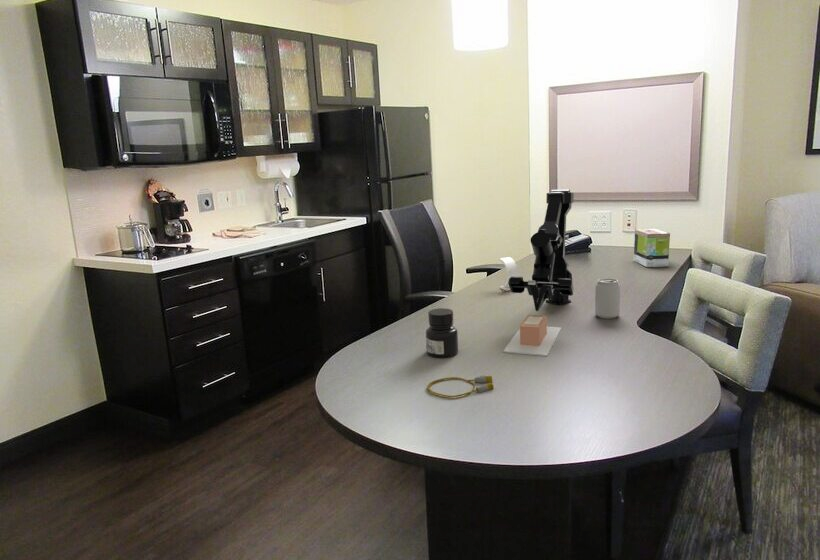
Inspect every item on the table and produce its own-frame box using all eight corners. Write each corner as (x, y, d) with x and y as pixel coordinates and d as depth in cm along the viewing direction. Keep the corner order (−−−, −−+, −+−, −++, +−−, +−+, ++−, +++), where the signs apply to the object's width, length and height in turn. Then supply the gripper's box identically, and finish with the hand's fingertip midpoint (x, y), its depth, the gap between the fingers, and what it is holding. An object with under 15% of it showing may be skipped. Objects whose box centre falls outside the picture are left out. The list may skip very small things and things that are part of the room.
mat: (522, 325, 180) (522, 324, 180) (561, 328, 175) (561, 327, 175) (503, 352, 159) (503, 350, 159) (547, 356, 154) (547, 354, 154)
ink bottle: (421, 350, 164) (418, 310, 161) (448, 344, 167) (446, 305, 164) (435, 361, 155) (433, 318, 152) (464, 355, 158) (463, 313, 156)
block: (528, 314, 171) (519, 325, 162) (546, 315, 169) (539, 326, 159) (528, 332, 173) (520, 344, 163) (546, 333, 170) (539, 346, 161)
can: (621, 319, 181) (622, 282, 178) (596, 319, 182) (597, 282, 180) (617, 312, 188) (618, 276, 185) (593, 312, 190) (594, 277, 187)
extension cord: (488, 404, 129) (488, 395, 129) (421, 398, 134) (421, 390, 134) (497, 382, 140) (497, 374, 140) (435, 377, 145) (435, 370, 145)
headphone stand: (509, 286, 229) (508, 256, 226) (518, 289, 224) (518, 259, 221) (499, 288, 227) (499, 258, 225) (508, 291, 222) (508, 260, 219)
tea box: (669, 266, 247) (670, 232, 244) (645, 267, 247) (647, 233, 244) (655, 259, 262) (656, 227, 258) (632, 261, 262) (634, 228, 259)
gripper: (577, 280, 179) (572, 325, 172) (518, 278, 187) (510, 321, 179) (574, 261, 171) (568, 307, 163) (512, 259, 178) (503, 303, 171)
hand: (536, 310), depth 169 cm, fingers closed
